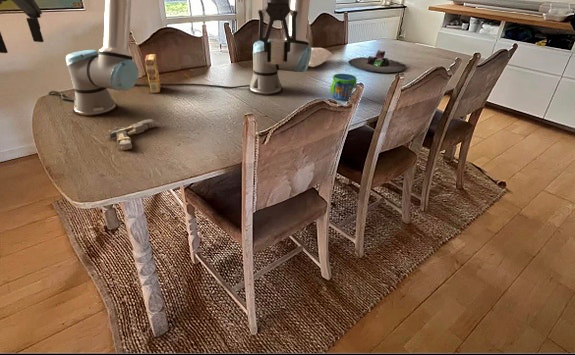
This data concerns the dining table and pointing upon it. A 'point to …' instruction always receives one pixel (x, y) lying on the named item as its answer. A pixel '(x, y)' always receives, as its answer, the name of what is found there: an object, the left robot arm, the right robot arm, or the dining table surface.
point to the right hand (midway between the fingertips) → (276, 60)
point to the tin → (277, 51)
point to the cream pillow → (318, 56)
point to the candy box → (152, 73)
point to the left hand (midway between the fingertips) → (21, 46)
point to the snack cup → (343, 86)
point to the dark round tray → (377, 63)
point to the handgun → (129, 132)
